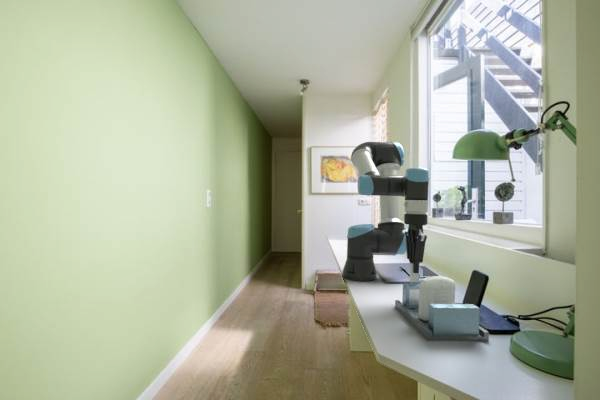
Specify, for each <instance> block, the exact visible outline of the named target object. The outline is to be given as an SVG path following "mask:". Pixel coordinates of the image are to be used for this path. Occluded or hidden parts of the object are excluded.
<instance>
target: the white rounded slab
mask: <svg viewBox="0 0 600 400" xmlns="http://www.w3.org/2000/svg"><path fill="white" fill-rule="evenodd" d="M419 284H420V287H419V310H418V315H419V318H420V319H421V320H424V321H425V320H427V321H428V320H429V304H456V303H455V302H456V283H455V281H454V280H453V279H452V278H449V277H447V276H440V275H439V276H432V277H427V278H421V280H419Z"/></svg>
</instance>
